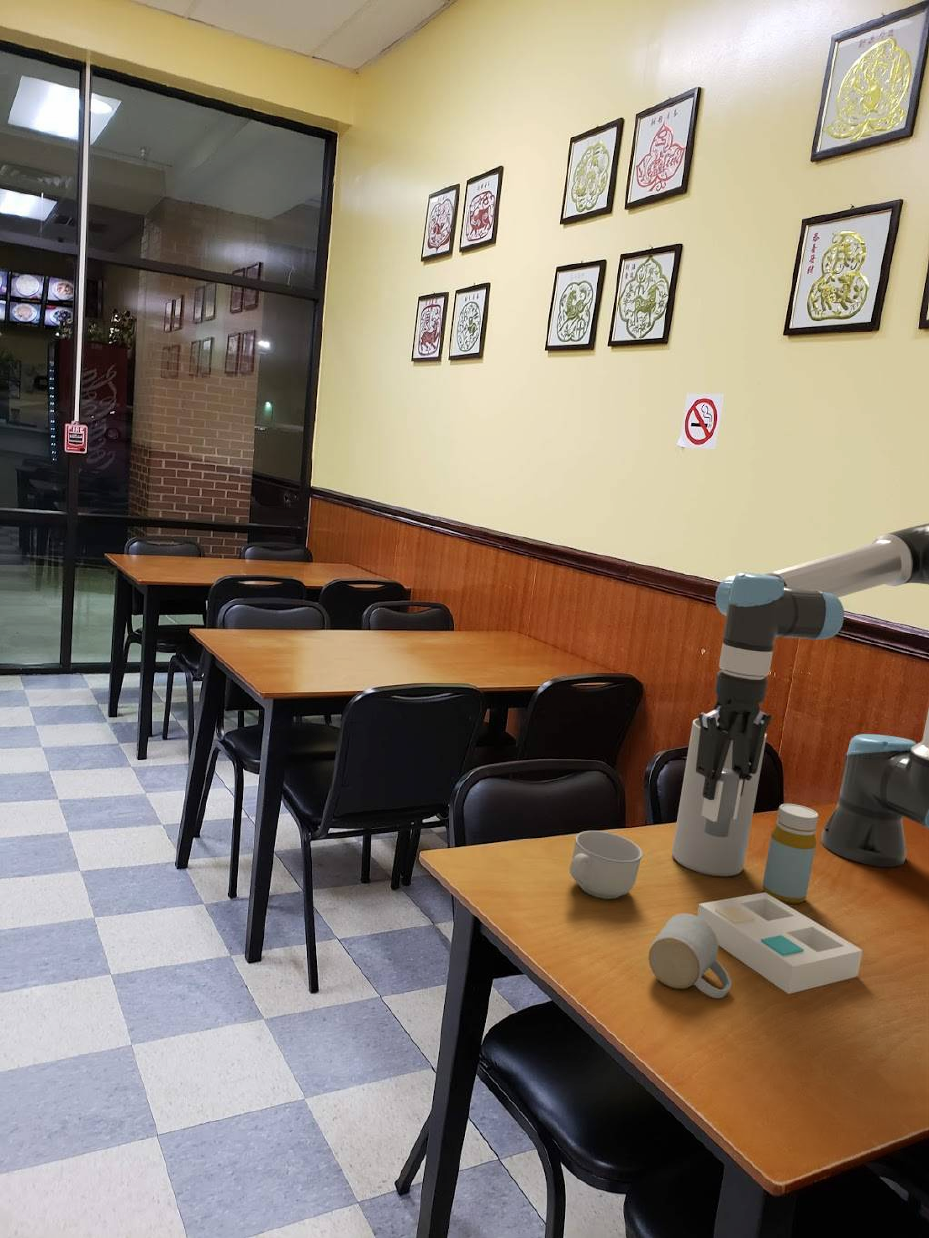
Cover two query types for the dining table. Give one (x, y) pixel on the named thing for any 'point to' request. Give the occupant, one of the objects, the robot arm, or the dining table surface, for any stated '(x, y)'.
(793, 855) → the bottle
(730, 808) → the plug
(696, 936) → the ceramic mug
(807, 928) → the socket block
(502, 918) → the dining table surface
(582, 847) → the teacup
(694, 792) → the cylinder vase
